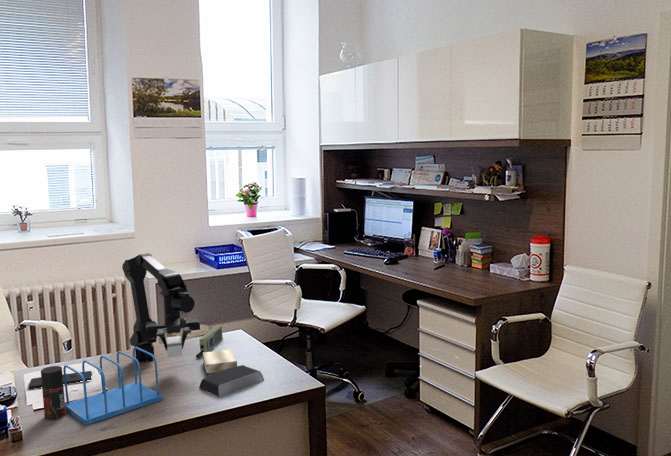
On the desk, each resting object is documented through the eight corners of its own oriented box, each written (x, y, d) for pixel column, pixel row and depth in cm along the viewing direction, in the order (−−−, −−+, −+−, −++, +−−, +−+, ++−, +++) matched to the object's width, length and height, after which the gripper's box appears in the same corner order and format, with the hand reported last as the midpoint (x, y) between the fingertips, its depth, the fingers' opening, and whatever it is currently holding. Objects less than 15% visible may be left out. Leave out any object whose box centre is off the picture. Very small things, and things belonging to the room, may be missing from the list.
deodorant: (48, 412, 192) (45, 366, 190) (68, 411, 193) (64, 365, 191) (41, 421, 186) (37, 373, 184) (61, 419, 187) (57, 372, 185)
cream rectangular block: (206, 375, 221) (206, 364, 221) (203, 362, 234) (202, 352, 234) (237, 371, 224) (236, 361, 224) (232, 359, 237) (231, 349, 237)
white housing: (167, 357, 219) (166, 343, 218) (167, 350, 227) (166, 337, 226) (182, 355, 221) (181, 342, 220) (181, 348, 228) (180, 335, 228)
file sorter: (138, 386, 212) (135, 343, 210) (162, 401, 200) (160, 355, 198) (63, 409, 195) (59, 362, 193) (85, 426, 182) (82, 376, 180)
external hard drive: (265, 381, 215) (265, 370, 215) (220, 399, 201) (219, 387, 201) (242, 373, 224) (242, 362, 224) (197, 388, 210) (196, 377, 210)
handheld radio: (224, 339, 263) (201, 359, 238) (216, 339, 263) (193, 359, 239) (222, 324, 262) (200, 342, 238) (215, 324, 263) (192, 343, 238)
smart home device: (91, 378, 218) (28, 386, 211) (91, 382, 218) (28, 391, 211) (91, 370, 225) (31, 377, 219) (92, 374, 226) (31, 382, 219)
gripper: (144, 316, 211) (147, 360, 213) (200, 310, 216) (202, 353, 219) (145, 308, 222) (147, 350, 224) (197, 303, 227) (200, 344, 229)
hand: (174, 349), depth 224 cm, fingers closed on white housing, 5 cm apart
